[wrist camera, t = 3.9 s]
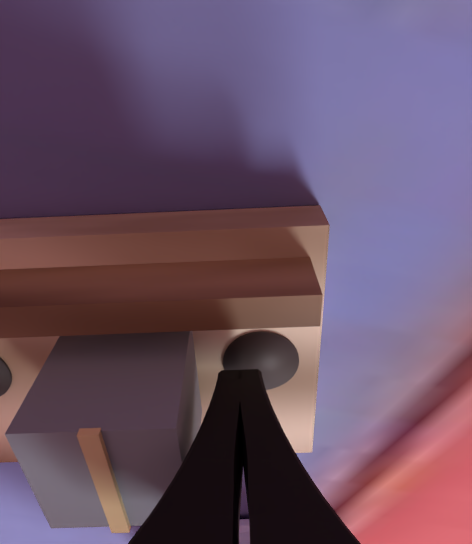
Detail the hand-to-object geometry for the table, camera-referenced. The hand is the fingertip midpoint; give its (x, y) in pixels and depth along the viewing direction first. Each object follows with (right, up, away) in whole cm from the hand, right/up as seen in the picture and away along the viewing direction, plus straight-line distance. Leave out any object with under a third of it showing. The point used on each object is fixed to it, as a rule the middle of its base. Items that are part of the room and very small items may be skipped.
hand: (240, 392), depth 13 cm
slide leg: (-3, 0, +1) cm, 4 cm away
